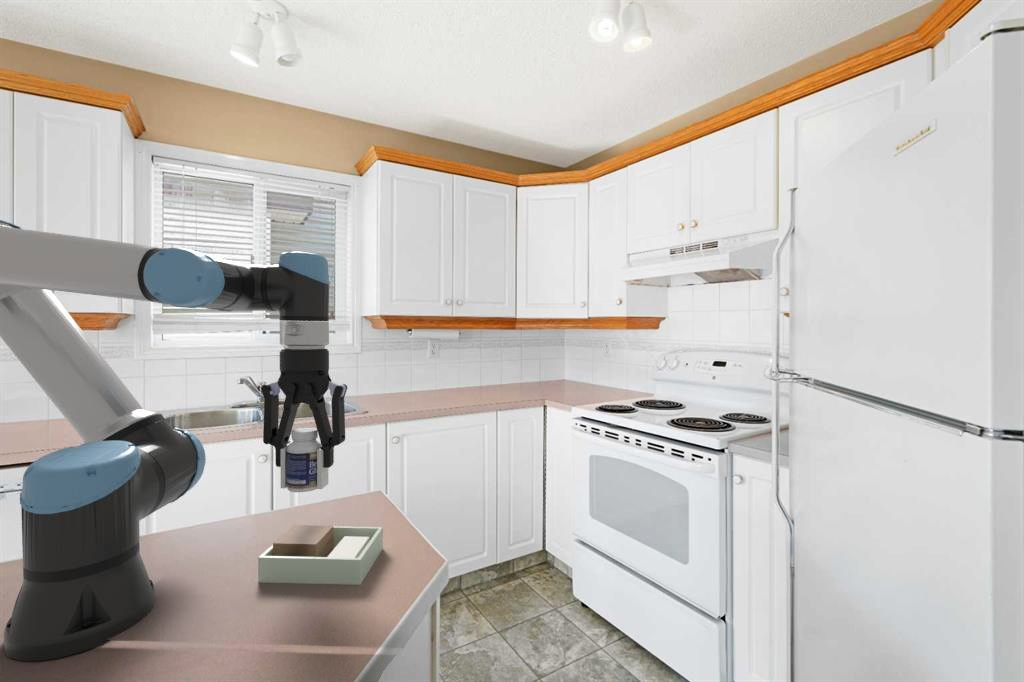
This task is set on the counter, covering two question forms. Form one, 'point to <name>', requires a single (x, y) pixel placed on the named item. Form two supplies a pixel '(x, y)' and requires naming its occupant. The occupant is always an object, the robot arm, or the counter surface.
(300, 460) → the pill bottle
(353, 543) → the white box
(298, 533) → the walnut block
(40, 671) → the counter surface
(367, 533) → the box
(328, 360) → the robot arm
